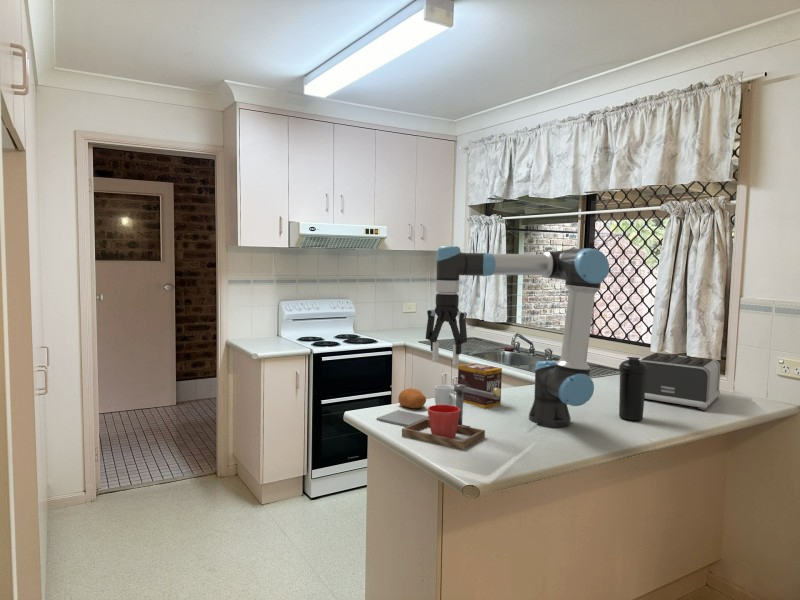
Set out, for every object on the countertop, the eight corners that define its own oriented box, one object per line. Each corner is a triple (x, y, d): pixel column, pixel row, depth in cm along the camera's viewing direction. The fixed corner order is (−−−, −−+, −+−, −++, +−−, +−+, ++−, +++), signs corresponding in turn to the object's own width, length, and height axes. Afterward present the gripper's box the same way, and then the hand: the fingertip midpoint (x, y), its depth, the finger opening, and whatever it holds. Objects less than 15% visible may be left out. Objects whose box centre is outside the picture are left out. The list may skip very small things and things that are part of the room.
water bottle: (643, 415, 220) (647, 357, 218) (646, 422, 210) (649, 361, 208) (616, 412, 223) (619, 355, 221) (617, 419, 213) (620, 359, 212)
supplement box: (485, 409, 223) (486, 370, 222) (456, 401, 235) (457, 364, 234) (501, 405, 230) (502, 367, 229) (473, 398, 241) (474, 362, 240)
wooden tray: (484, 437, 187) (484, 430, 187) (463, 450, 174) (463, 442, 174) (425, 425, 200) (425, 418, 199) (401, 435, 187) (401, 428, 187)
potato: (413, 403, 230) (414, 385, 229) (430, 409, 221) (431, 391, 220) (395, 406, 225) (395, 388, 224) (412, 413, 215) (412, 393, 215)
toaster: (721, 396, 256) (724, 357, 255) (706, 411, 228) (709, 368, 227) (650, 385, 275) (652, 349, 274) (628, 398, 247) (630, 358, 246)
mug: (462, 412, 217) (463, 389, 216) (446, 415, 213) (447, 391, 212) (445, 406, 226) (446, 383, 225) (430, 409, 222) (430, 385, 221)
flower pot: (424, 432, 192) (425, 404, 191) (456, 431, 193) (457, 404, 192) (429, 442, 181) (429, 412, 180) (462, 441, 182) (463, 412, 181)
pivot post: (470, 428, 197) (471, 392, 196) (462, 432, 192) (463, 395, 191) (455, 425, 200) (456, 389, 199) (446, 429, 195) (447, 392, 194)
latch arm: (459, 389, 198) (459, 378, 198) (503, 399, 184) (503, 388, 184) (451, 390, 195) (451, 380, 195) (496, 401, 181) (496, 390, 181)
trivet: (429, 418, 208) (429, 416, 208) (408, 427, 197) (408, 424, 197) (397, 412, 216) (397, 410, 216) (376, 420, 205) (376, 418, 204)
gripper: (479, 294, 181) (477, 364, 183) (427, 291, 192) (425, 357, 194) (469, 295, 175) (467, 368, 177) (415, 292, 186) (413, 360, 187)
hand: (445, 362), depth 185 cm, fingers open, 7 cm apart
